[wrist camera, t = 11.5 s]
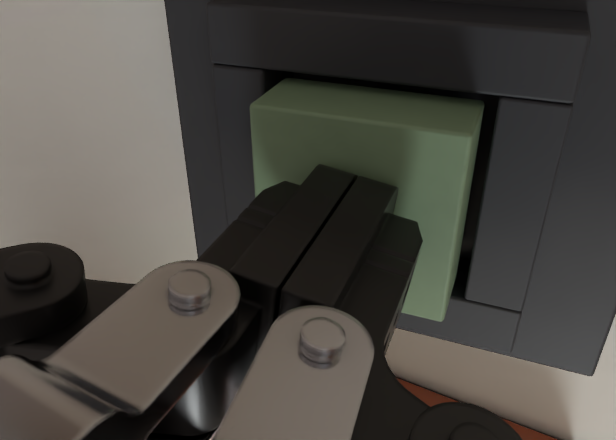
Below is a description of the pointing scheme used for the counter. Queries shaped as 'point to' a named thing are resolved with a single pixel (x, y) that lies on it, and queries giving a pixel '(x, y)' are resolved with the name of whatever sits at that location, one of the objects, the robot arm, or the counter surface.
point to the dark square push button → (490, 153)
